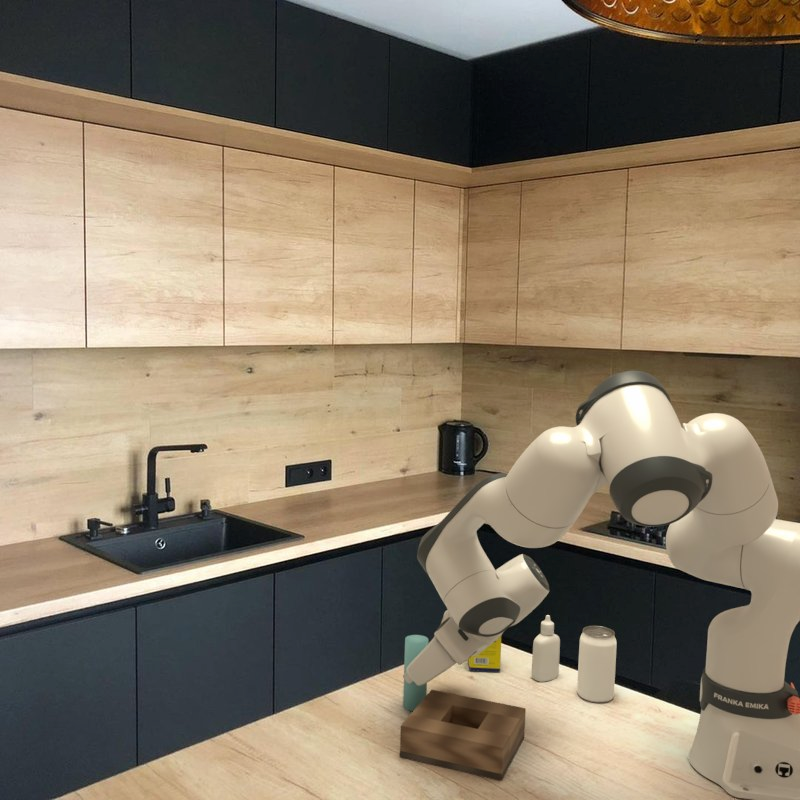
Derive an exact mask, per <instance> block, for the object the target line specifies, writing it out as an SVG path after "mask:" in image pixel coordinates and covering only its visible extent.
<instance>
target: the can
mask: <svg viewBox="0 0 800 800" xmlns="http://www.w3.org/2000/svg"><path fill="white" fill-rule="evenodd" d="M615 634H616V633H615V631H614V630H613V629H611V628H608V627H606V626H601V625H589V626H585V627H583V628H582V633H581V635H580V637H579V644H578V645H579V646H578V647H579V648H578V662H577V663H578V666H577V667H578V669H577V685H576V686H577V687H576V689H577V690H576V692H577V695H578V696H579V697H580V698H581V699H582V700H585V701H587V702H591V703H596V704H601V703H602V704H603V703H604V704H605V703H608V702H611V700H612V699H614V694H615V680H616V679H615V678H616V667H617V665H616V664H617V663H616V662H617V660H616V659H617V639H616V637H615Z"/></svg>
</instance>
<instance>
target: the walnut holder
mask: <svg viewBox="0 0 800 800" xmlns="http://www.w3.org/2000/svg"><path fill="white" fill-rule="evenodd" d="M526 709H527V708H526V707H522V706H515V705H512V704H507V703H506V704H505V703H501V702H496V701H490V700H486V699H482V698H476V697H470V696H466V695H460V694H456V693H451V692H445V691H442V690H441V691H440V690H436V689H431V690H430V691H429V692H428V693H427V696H426V697H425V698H424V699H423V700H422V701H421V703H420V704H419V705H418V706H417V707H416V708H415V710H414V711H413V712H412V711H411V713H410V714H409V715H408V716H407V718H405V720H404V722H402V724H401V725H400V735H399V736H400V737H399V738H400V739H399V741H400V742H399V743H400V744H399V758H403V759H407V760H410V761H415V762H420V763H425V764H428V765H432V766H436V767H442V768H445V769H450V770H454V771H459V772H463V773H468V774H471V775H476V776H480V777H484V778H489V779H492V780H498V781H501V782H502V781H503V779H504V777H505V775H506V773H507V771H508V769H509V768H510V766H511V764H512V762H513V760H514V758H515V756H516V755H517V753H518V750H519V749H520V748H521V745H522V743H523V741H524V739H525V731H526V729H525V728H526V727H525V726H526Z"/></svg>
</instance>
